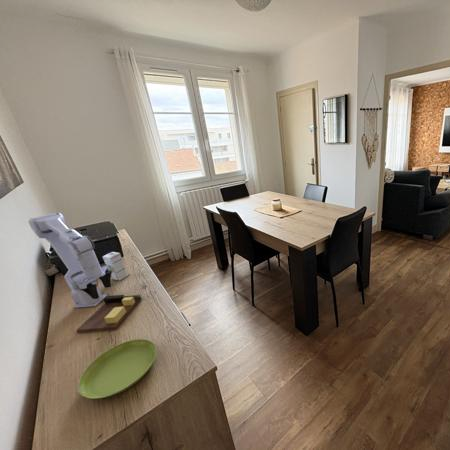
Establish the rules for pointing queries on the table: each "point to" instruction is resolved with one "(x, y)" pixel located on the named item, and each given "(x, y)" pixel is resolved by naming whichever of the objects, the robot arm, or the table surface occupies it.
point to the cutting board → (98, 318)
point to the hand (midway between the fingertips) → (102, 292)
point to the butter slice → (128, 301)
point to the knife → (120, 298)
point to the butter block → (115, 315)
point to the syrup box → (115, 265)
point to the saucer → (117, 369)
